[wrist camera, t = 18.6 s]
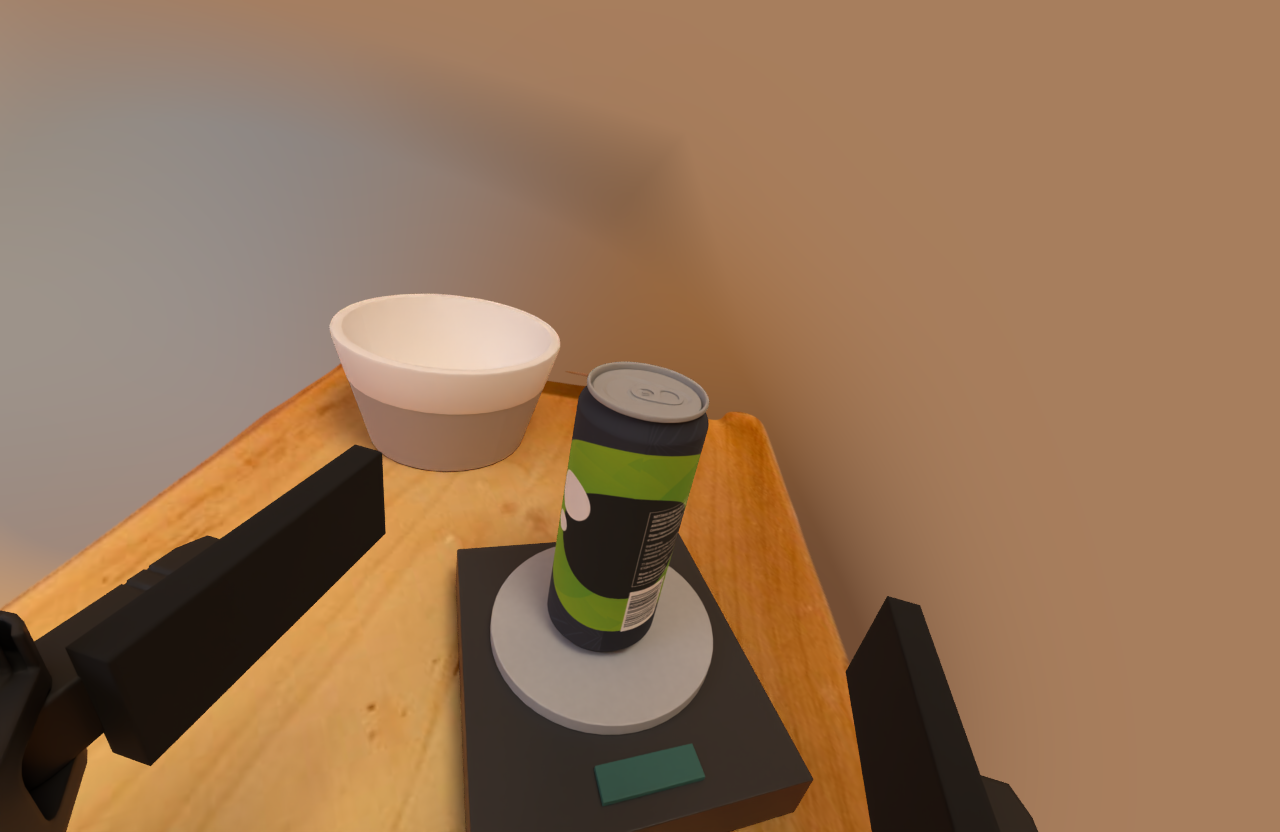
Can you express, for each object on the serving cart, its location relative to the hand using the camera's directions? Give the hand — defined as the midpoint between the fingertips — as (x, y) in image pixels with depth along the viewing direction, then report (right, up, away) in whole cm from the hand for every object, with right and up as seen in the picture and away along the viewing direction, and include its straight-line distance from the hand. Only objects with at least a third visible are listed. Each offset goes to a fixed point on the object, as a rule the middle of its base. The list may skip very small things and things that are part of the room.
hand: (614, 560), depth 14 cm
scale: (-2, -12, +18) cm, 22 cm away
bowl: (-18, +2, +39) cm, 43 cm away
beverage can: (-2, -8, +18) cm, 20 cm away
